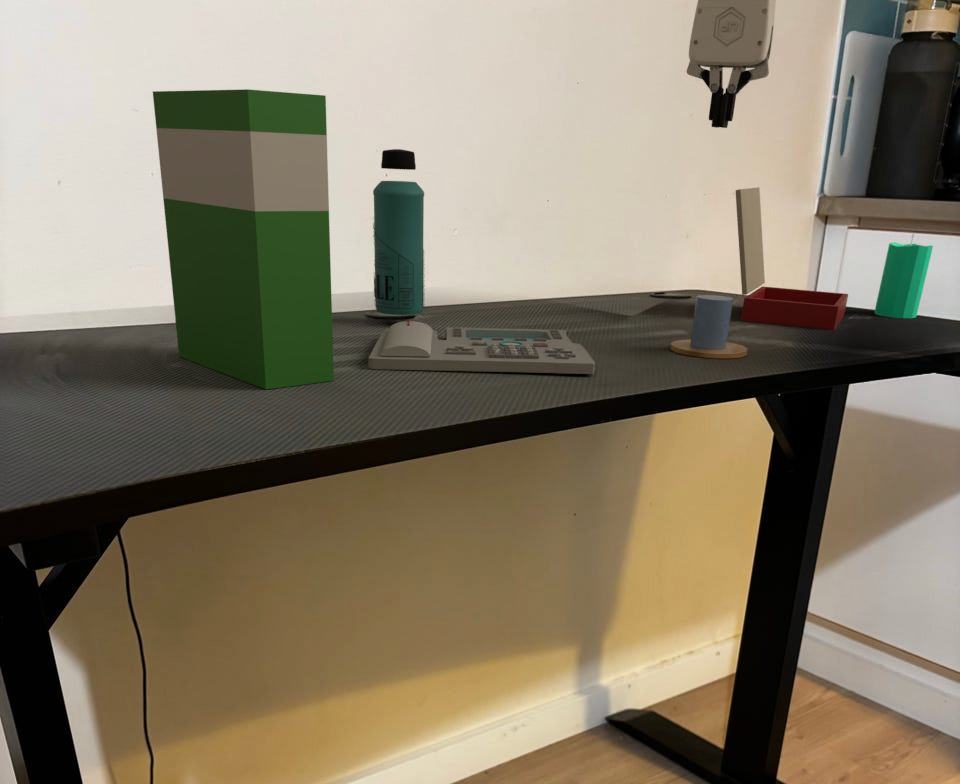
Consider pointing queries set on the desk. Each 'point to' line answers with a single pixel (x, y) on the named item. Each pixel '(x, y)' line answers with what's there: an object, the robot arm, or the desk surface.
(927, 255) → the candle
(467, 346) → the office telephone
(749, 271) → the grey flat panel
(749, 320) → the shallow red crate
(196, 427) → the desk surface
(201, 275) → the cereal box
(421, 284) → the beverage bottle
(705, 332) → the blue cylinder
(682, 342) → the coaster
